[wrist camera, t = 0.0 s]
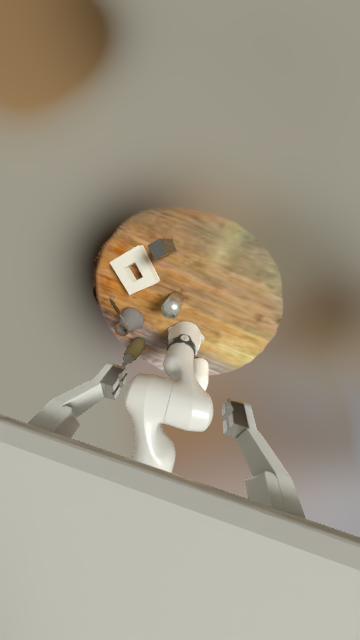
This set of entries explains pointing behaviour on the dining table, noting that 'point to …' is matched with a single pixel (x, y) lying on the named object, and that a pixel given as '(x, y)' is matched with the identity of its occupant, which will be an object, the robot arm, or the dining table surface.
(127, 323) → the coffee pot
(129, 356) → the squeeze bottle
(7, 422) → the robot arm
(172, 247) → the square bit
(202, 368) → the wine bottle
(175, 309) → the round bit
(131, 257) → the socket block
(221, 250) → the dining table surface
